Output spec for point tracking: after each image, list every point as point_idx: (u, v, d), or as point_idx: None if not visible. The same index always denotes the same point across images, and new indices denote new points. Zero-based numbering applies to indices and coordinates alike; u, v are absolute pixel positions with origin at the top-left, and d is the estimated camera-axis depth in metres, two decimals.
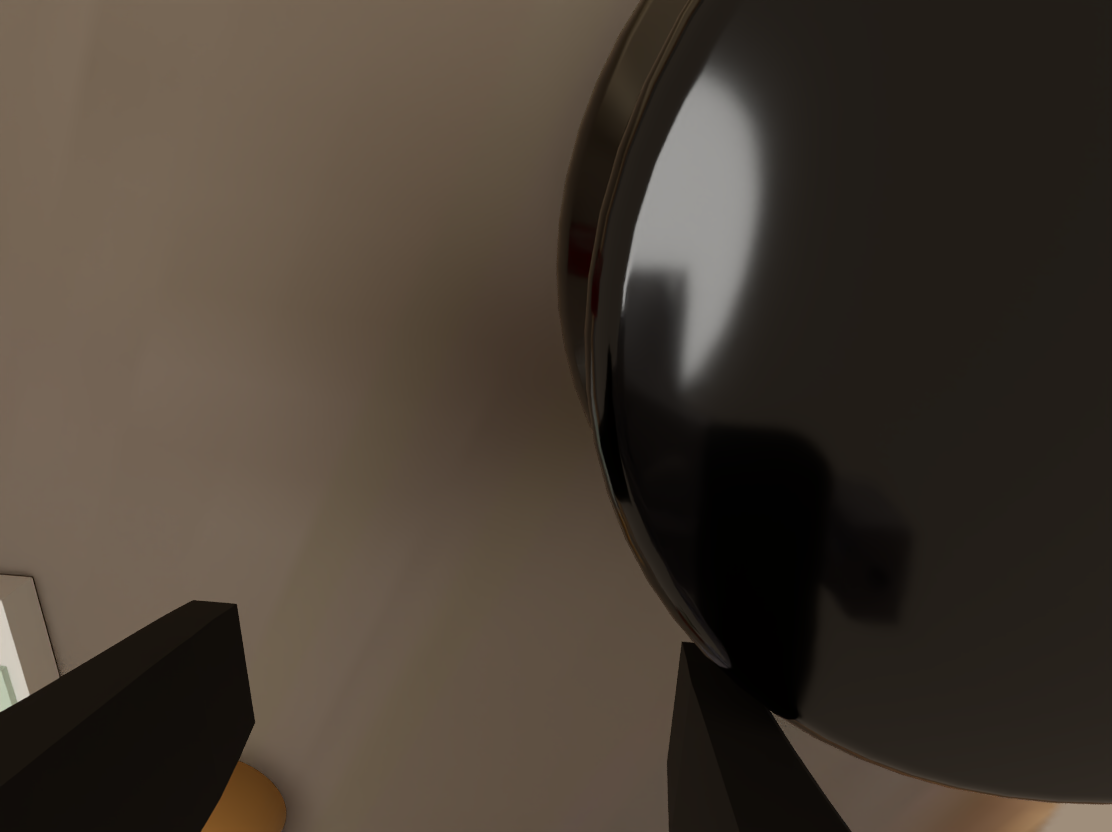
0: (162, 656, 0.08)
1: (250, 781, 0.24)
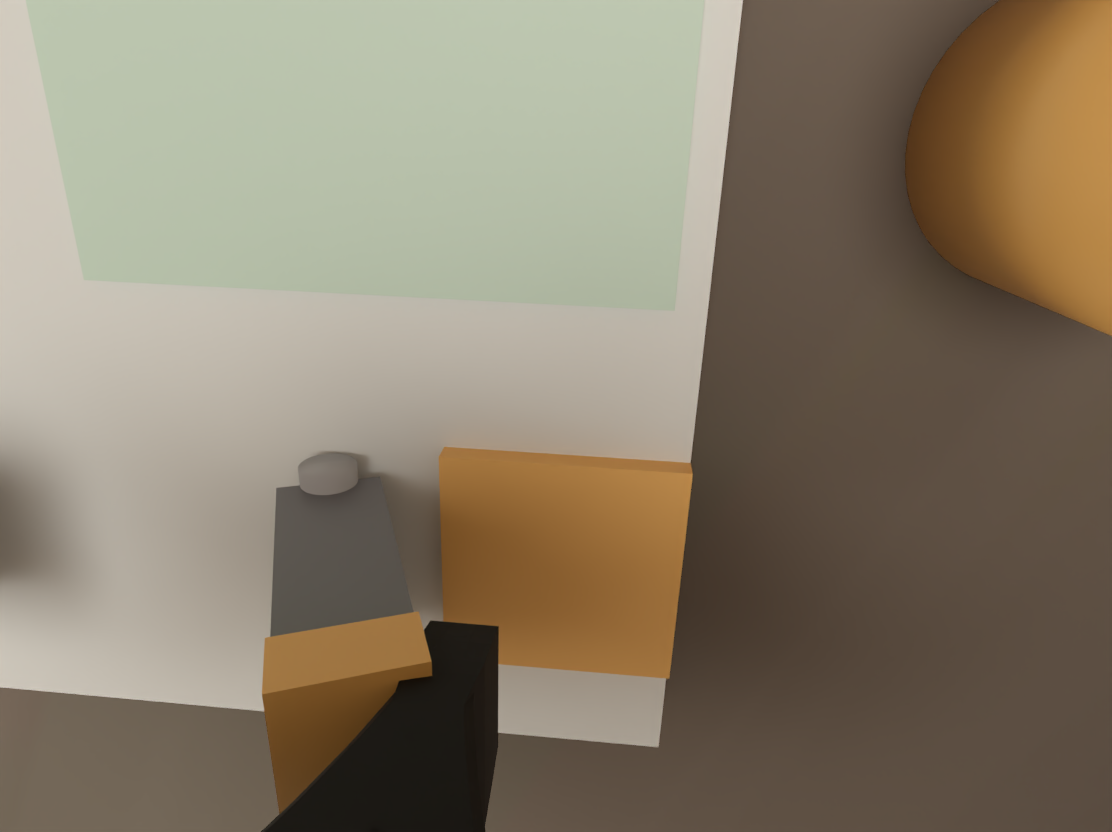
0: (471, 684, 0.08)
1: None
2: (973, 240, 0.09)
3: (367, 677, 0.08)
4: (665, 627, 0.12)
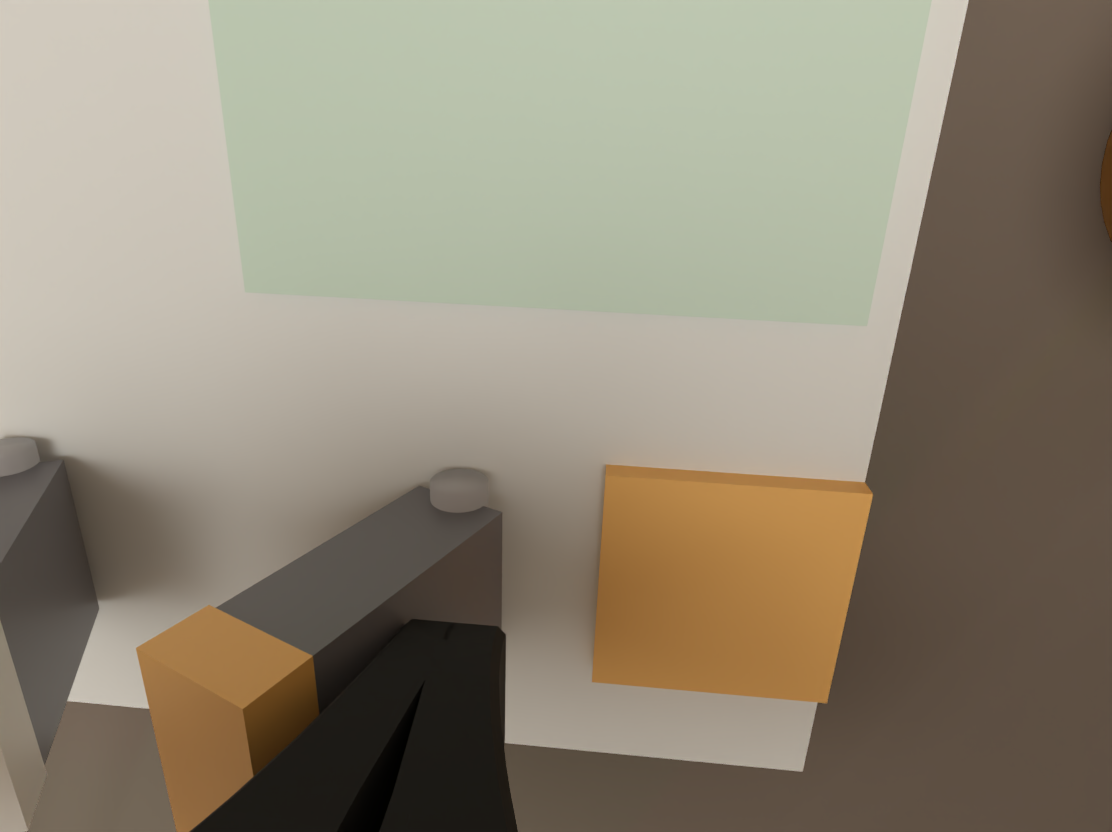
0: (423, 681, 0.08)
1: None
2: None
3: (198, 687, 0.07)
4: (828, 650, 0.12)
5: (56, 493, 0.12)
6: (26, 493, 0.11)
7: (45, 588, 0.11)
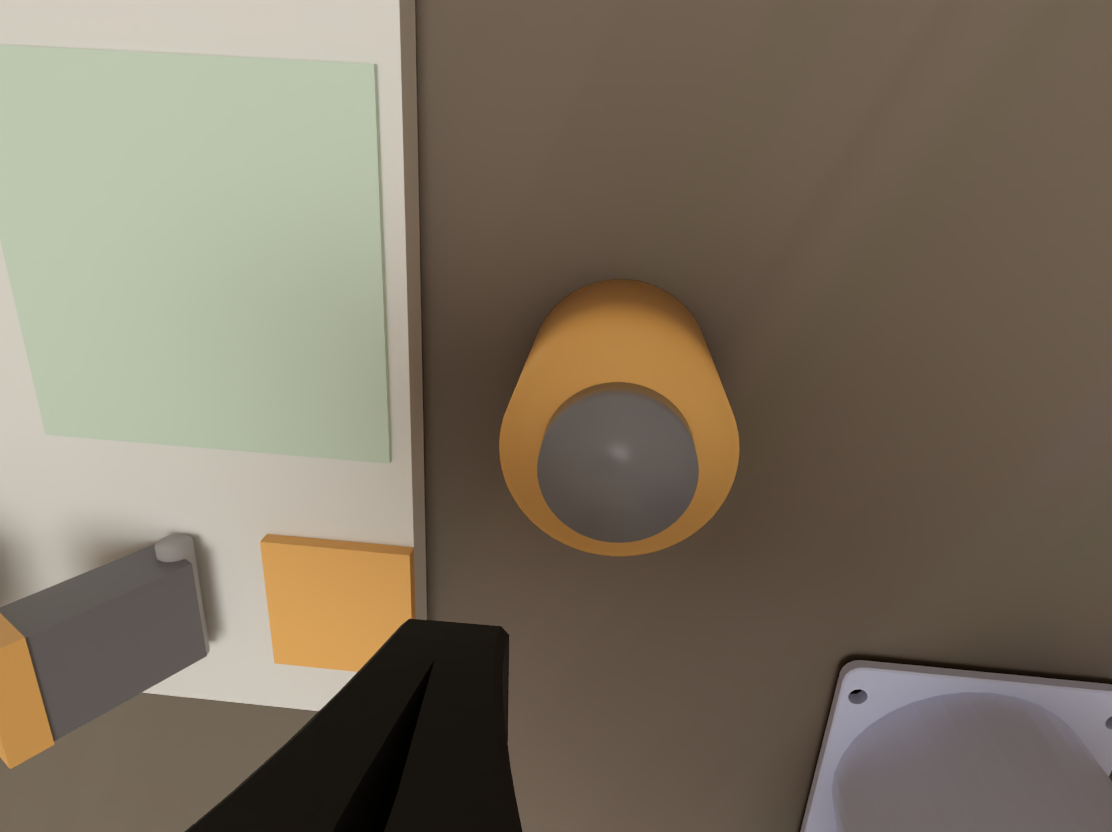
0: (419, 680, 0.08)
1: (682, 306, 0.17)
2: None
3: None
4: None
5: None
6: None
7: None
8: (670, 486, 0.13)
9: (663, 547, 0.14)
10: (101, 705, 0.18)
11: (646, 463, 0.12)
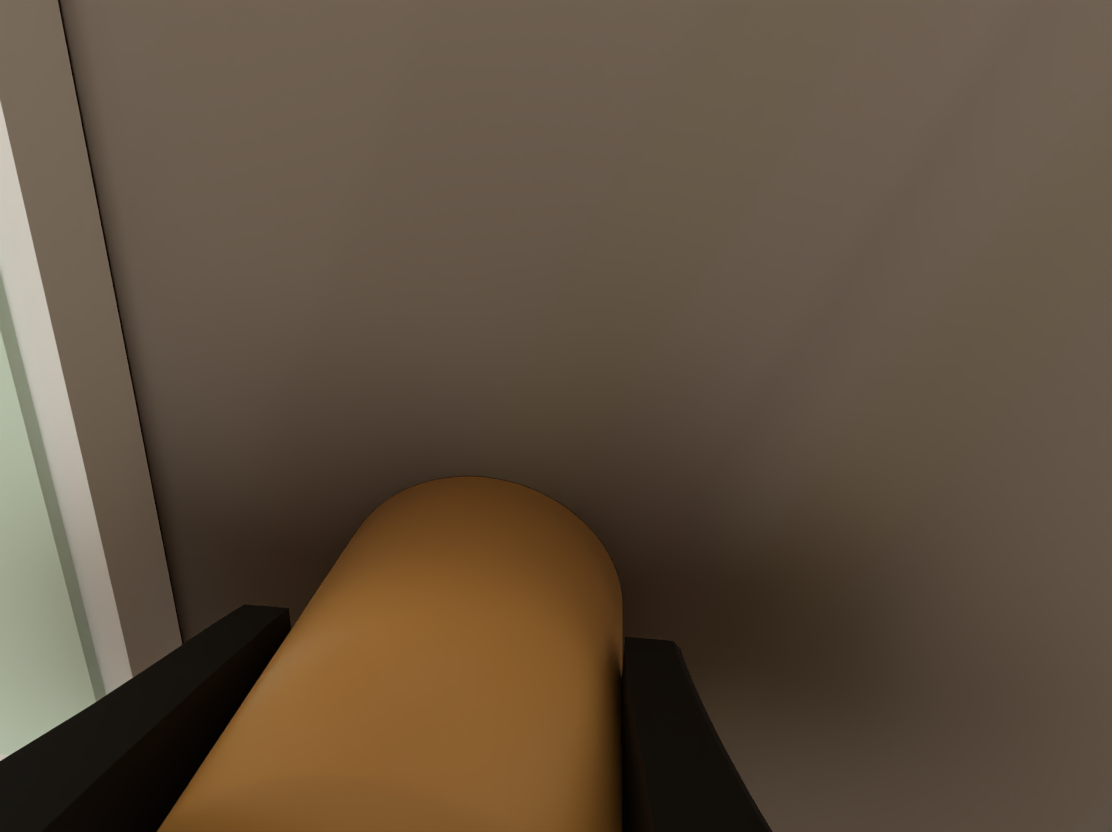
0: (223, 662, 0.08)
1: (569, 528, 0.10)
2: None
3: None
4: None
5: None
6: None
7: None
8: None
9: None
10: None
11: None
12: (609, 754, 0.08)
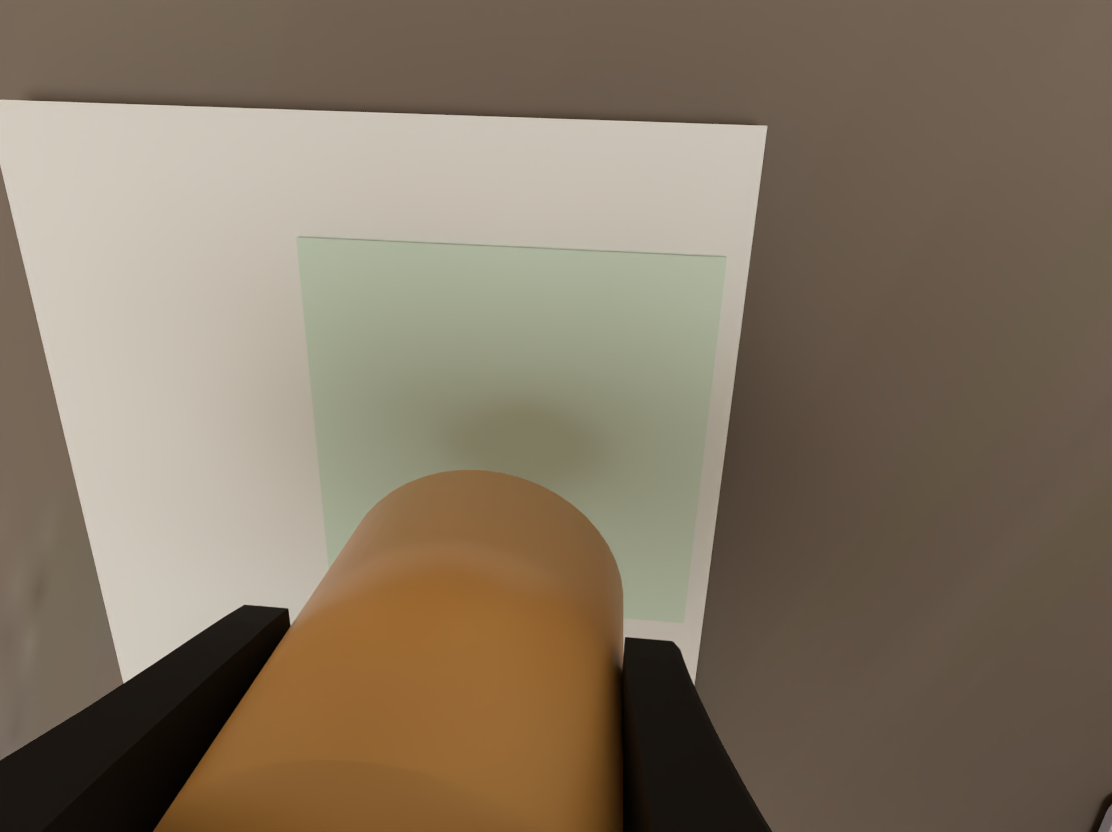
0: (222, 662, 0.08)
1: (570, 519, 0.10)
2: None
3: None
4: None
5: None
6: None
7: None
8: None
9: None
10: None
11: None
12: (610, 741, 0.08)
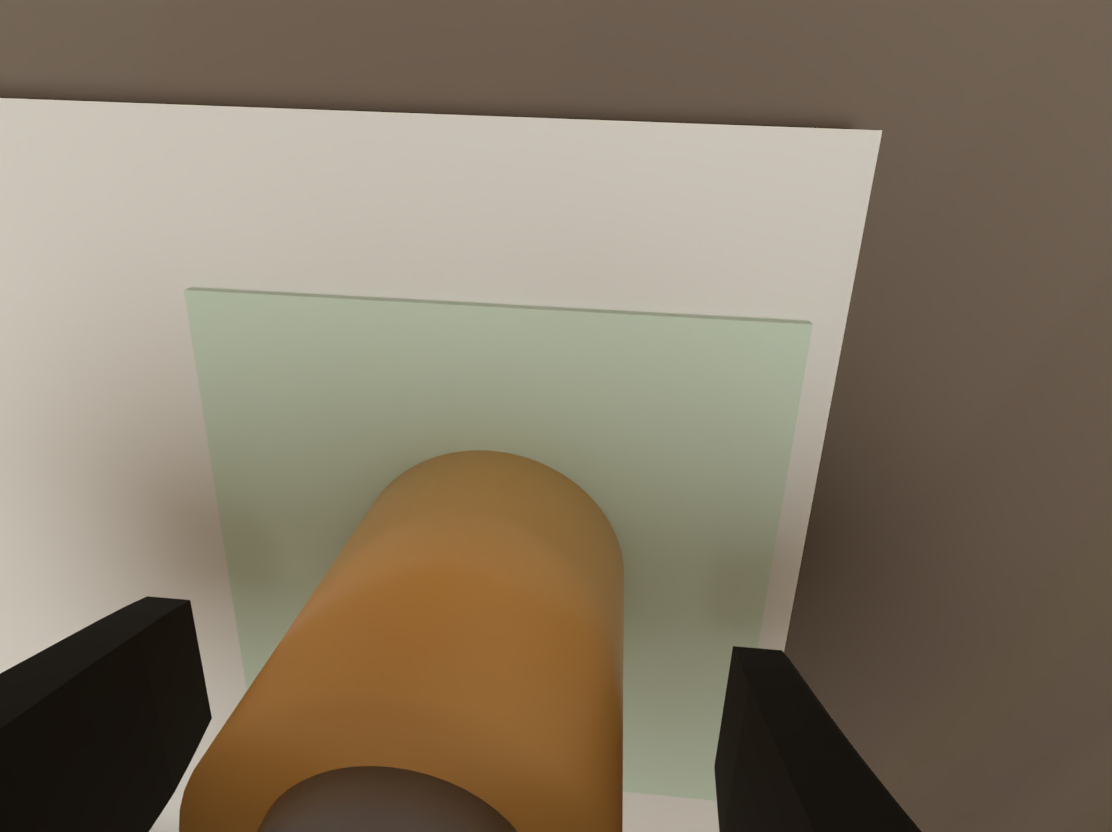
0: (107, 652, 0.08)
1: (573, 497, 0.11)
2: None
3: None
4: None
5: None
6: None
7: None
8: None
9: None
10: None
11: None
12: (611, 695, 0.08)
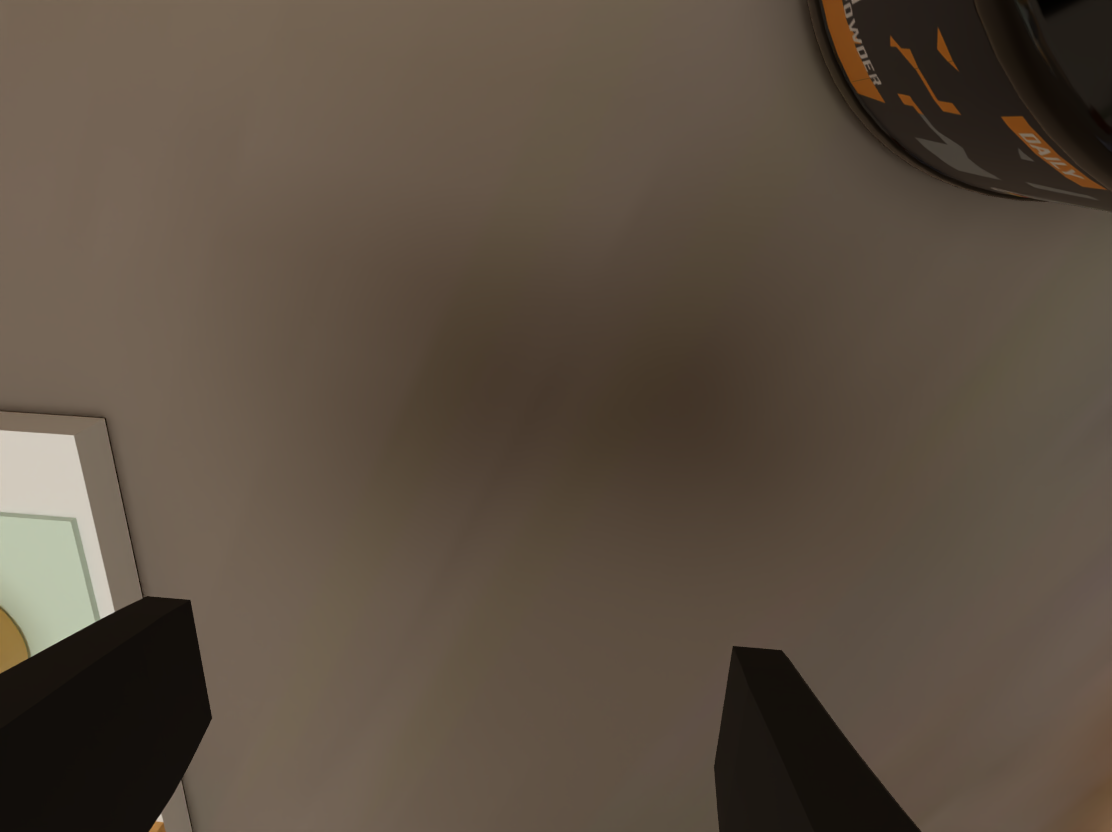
0: (107, 652, 0.08)
1: None
2: None
3: None
4: None
5: None
6: None
7: None
8: None
9: None
10: None
11: None
12: None
